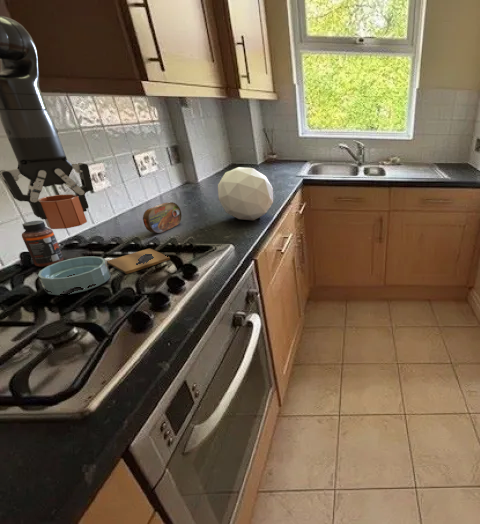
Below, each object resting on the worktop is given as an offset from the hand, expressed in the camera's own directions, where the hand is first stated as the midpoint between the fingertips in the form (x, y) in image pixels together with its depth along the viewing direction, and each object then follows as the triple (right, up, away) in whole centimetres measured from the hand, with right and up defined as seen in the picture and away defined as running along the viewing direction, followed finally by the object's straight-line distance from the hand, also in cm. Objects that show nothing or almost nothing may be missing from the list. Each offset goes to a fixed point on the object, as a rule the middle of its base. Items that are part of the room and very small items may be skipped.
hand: (64, 214), depth 73 cm
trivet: (+5, -10, +17) cm, 21 cm away
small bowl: (0, -2, +1) cm, 2 cm away
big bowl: (-1, -16, +6) cm, 17 cm away
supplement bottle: (-18, -11, +15) cm, 26 cm away
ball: (+22, +6, +54) cm, 58 cm away
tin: (-3, +1, +41) cm, 41 cm away
